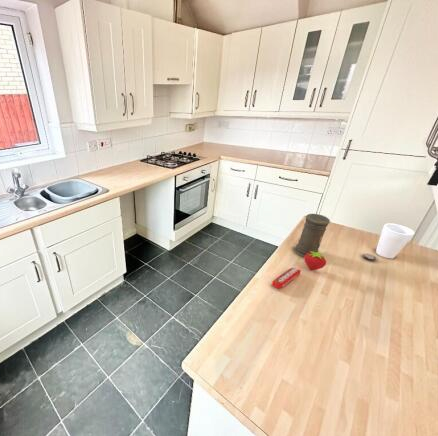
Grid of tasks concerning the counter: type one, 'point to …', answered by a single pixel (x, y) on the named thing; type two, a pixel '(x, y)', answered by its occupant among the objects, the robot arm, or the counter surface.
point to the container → (312, 234)
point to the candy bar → (285, 278)
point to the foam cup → (393, 239)
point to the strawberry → (314, 261)
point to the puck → (369, 257)
